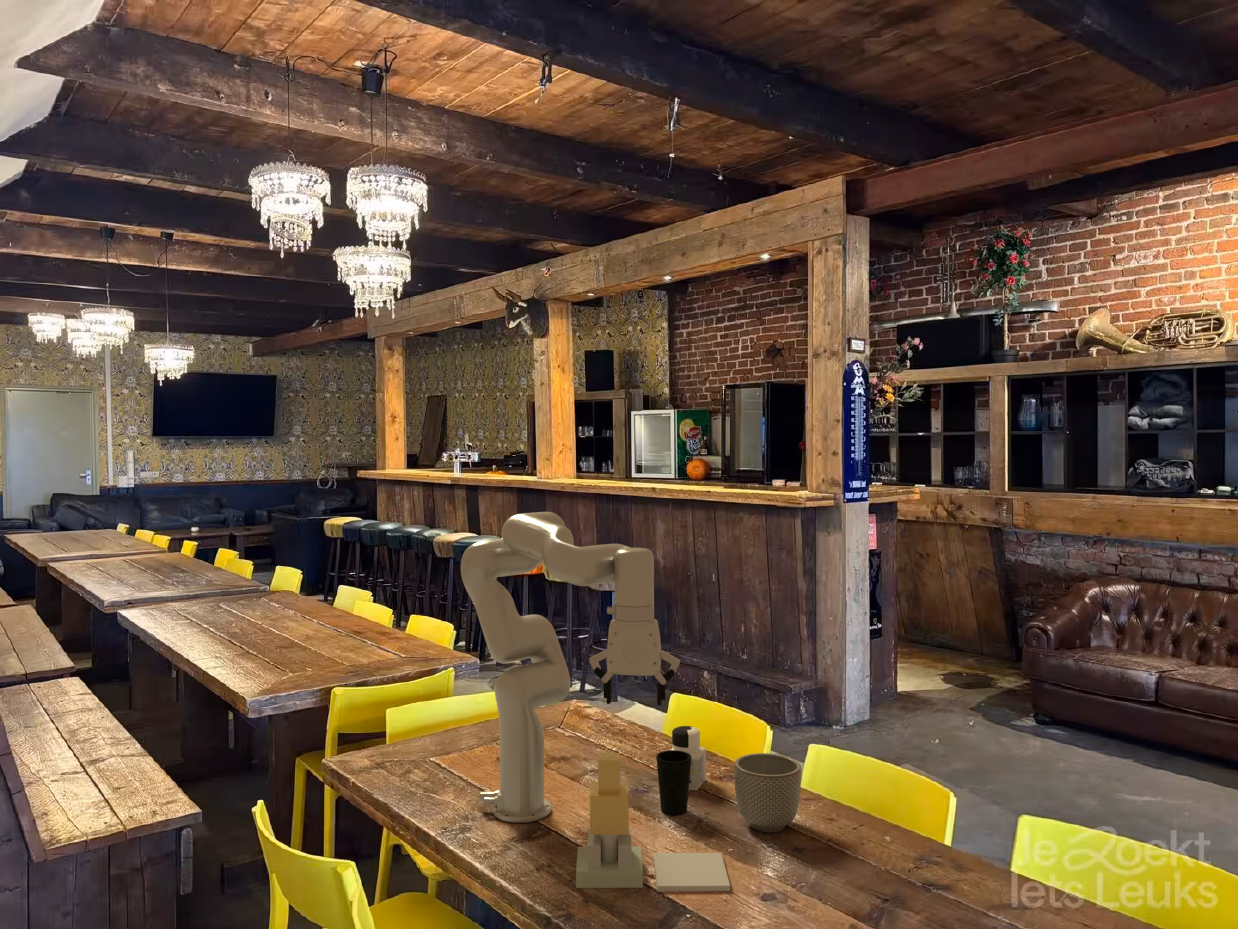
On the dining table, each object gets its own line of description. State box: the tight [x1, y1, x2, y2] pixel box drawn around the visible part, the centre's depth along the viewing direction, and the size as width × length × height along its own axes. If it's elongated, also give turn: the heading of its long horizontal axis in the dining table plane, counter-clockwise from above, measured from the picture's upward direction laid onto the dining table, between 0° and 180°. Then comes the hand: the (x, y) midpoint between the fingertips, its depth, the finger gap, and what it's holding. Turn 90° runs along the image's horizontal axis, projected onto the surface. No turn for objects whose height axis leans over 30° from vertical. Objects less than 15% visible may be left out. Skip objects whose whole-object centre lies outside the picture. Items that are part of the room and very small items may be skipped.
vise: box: [575, 828, 644, 889], centre depth 166 cm, size 12×10×15 cm
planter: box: [733, 752, 802, 833], centre depth 187 cm, size 14×14×13 cm
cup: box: [655, 749, 692, 817], centre depth 195 cm, size 8×8×12 cm
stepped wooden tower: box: [589, 752, 630, 835], centre depth 166 cm, size 7×7×13 cm
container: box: [670, 725, 707, 792], centre depth 211 cm, size 8×8×13 cm
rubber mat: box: [653, 852, 731, 893], centre depth 166 cm, size 13×13×1 cm
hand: (634, 703), depth 171 cm, fingers open, 9 cm apart
